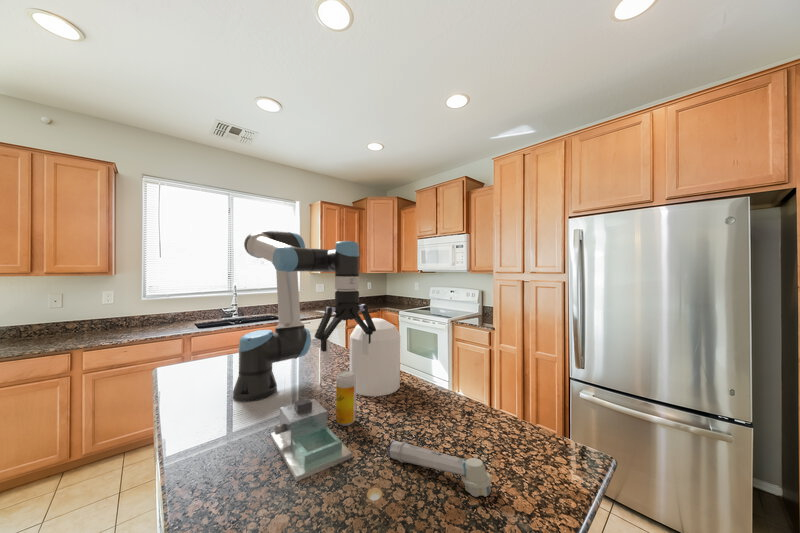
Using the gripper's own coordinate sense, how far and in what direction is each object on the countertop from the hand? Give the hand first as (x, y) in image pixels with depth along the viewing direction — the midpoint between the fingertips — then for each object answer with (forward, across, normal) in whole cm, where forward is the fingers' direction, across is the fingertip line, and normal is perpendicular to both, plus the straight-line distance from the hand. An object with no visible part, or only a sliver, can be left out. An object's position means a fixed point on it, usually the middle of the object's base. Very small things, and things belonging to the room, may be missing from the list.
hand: (346, 357), depth 92 cm
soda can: (+20, 0, 0) cm, 20 cm away
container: (+20, +23, +19) cm, 36 cm away
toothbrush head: (+21, +6, -34) cm, 40 cm away
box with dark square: (+20, -14, -6) cm, 25 cm away
